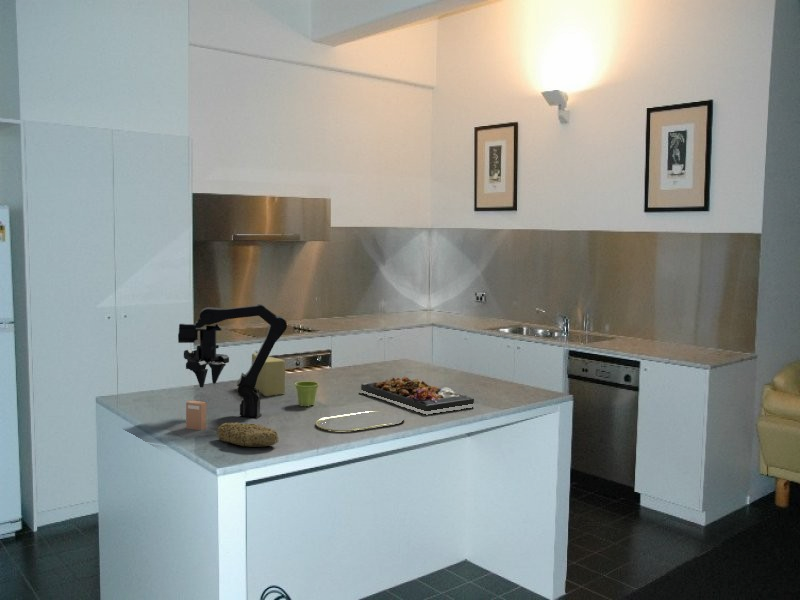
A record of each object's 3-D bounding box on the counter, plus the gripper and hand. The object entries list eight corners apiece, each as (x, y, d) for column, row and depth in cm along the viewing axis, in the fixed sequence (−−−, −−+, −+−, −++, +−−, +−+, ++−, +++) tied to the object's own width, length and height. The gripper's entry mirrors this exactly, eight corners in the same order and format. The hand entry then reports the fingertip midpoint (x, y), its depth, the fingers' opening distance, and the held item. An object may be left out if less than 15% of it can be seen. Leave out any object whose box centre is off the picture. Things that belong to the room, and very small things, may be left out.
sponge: (212, 446, 238) (250, 447, 225) (213, 422, 239) (251, 421, 226) (246, 446, 247) (284, 447, 234) (246, 422, 249) (284, 421, 236)
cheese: (242, 387, 323) (242, 353, 322) (262, 385, 329) (263, 351, 327) (264, 397, 305) (264, 361, 304) (285, 394, 311) (286, 359, 310)
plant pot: (300, 408, 287) (301, 386, 286) (290, 403, 294) (290, 382, 294) (322, 406, 292) (322, 384, 291) (311, 401, 300) (312, 380, 299)
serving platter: (306, 424, 265) (306, 420, 265) (385, 413, 286) (385, 409, 286) (333, 437, 250) (333, 432, 250) (415, 423, 271) (415, 419, 271)
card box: (191, 426, 254) (191, 400, 254) (206, 428, 252) (206, 402, 252) (185, 428, 252) (186, 402, 251) (200, 430, 250) (201, 404, 249)
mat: (165, 429, 251) (165, 427, 251) (198, 424, 259) (198, 422, 259) (185, 440, 239) (185, 438, 239) (219, 434, 247) (219, 433, 247)
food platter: (473, 409, 298) (474, 384, 297) (425, 416, 283) (426, 390, 282) (406, 388, 333) (407, 366, 333) (360, 394, 319) (361, 370, 318)
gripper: (204, 337, 277) (204, 378, 279) (173, 344, 260) (173, 388, 261) (229, 340, 274) (229, 381, 275) (199, 346, 256) (199, 391, 258)
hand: (207, 385), depth 267 cm, fingers open, 7 cm apart
